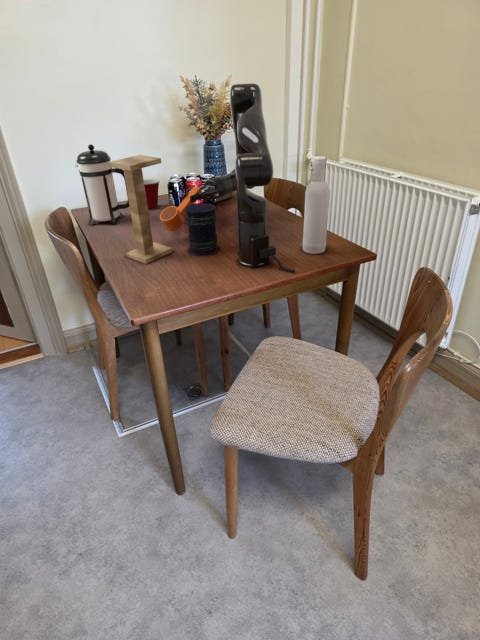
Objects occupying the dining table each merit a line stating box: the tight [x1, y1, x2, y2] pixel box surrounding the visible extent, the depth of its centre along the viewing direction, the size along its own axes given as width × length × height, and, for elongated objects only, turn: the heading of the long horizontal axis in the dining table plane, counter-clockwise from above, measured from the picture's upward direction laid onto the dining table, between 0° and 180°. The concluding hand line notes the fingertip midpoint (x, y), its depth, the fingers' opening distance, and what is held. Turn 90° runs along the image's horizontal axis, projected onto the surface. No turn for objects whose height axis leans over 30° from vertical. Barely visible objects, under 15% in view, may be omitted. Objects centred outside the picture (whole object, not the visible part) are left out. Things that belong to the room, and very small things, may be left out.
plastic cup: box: [143, 178, 161, 211], centre depth 187 cm, size 11×11×12 cm
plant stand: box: [109, 154, 173, 265], centre depth 136 cm, size 12×10×31 cm
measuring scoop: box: [159, 186, 201, 232], centre depth 149 cm, size 19×7×5 cm
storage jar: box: [185, 202, 218, 256], centre depth 143 cm, size 10×10×15 cm
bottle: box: [302, 155, 331, 255], centre depth 136 cm, size 8×8×30 cm
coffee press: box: [74, 144, 130, 226], centre depth 169 cm, size 17×16×30 cm
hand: (187, 198), depth 150 cm, fingers closed on measuring scoop, 3 cm apart
